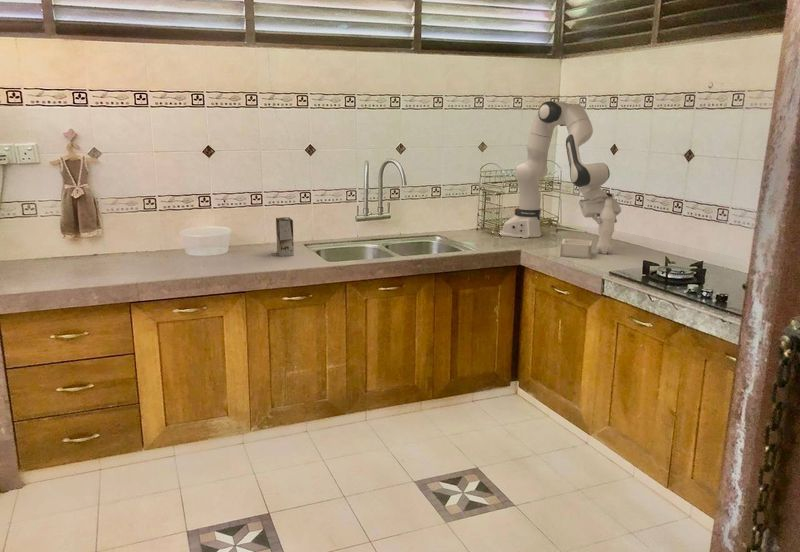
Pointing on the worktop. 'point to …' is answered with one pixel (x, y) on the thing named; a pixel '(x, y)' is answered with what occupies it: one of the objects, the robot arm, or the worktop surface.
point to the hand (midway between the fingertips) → (607, 222)
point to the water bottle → (606, 228)
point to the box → (576, 248)
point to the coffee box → (284, 236)
